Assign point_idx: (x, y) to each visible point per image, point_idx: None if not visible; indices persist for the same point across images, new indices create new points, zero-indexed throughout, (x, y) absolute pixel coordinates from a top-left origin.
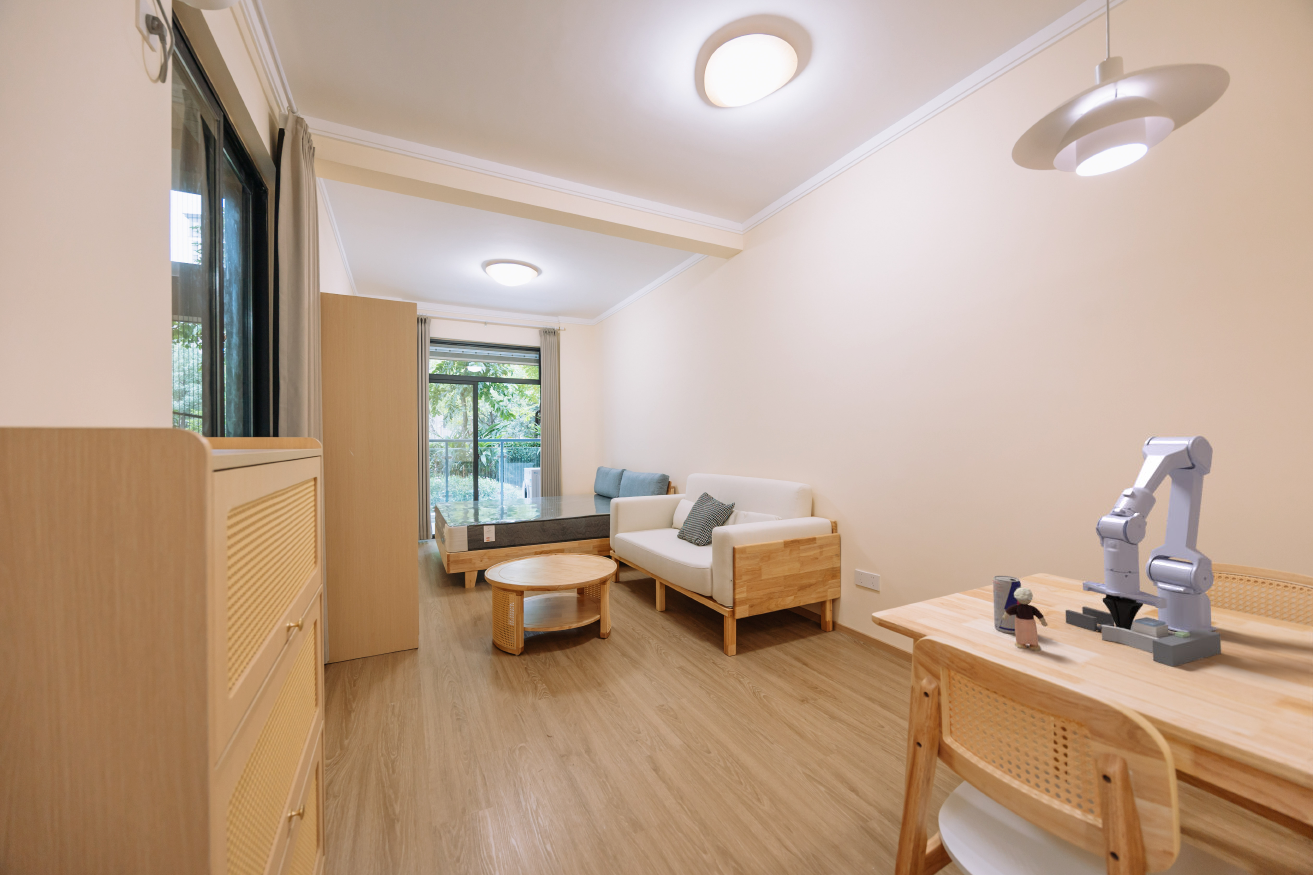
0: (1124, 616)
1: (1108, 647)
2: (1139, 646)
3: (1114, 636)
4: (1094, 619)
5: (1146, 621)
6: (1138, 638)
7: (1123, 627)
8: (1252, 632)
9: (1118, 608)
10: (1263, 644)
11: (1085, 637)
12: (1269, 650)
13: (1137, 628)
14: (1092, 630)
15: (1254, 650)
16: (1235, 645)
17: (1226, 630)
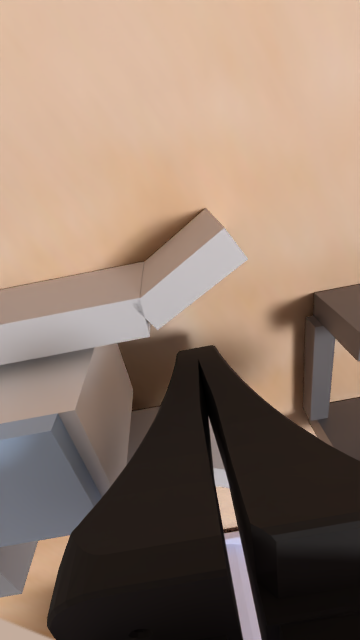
0: (158, 428)
1: (74, 98)
2: (36, 288)
3: (158, 260)
4: (354, 332)
5: (3, 469)
6: (19, 309)
7: (176, 368)
8: None
9: (197, 473)
10: None
11: (269, 127)
12: (28, 595)
13: (55, 380)
14: (325, 291)
15: (27, 576)
16: None
17: None
